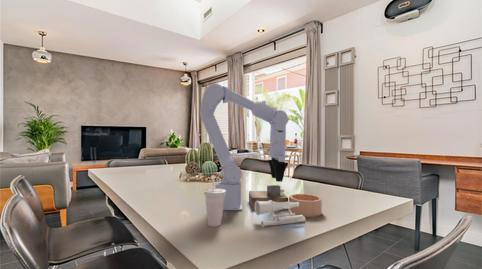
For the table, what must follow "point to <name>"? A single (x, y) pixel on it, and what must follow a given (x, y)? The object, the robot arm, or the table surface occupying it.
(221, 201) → the smoothie
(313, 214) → the bowl
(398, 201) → the table surface
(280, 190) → the connector
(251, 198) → the board
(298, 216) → the white joined tubes piece
